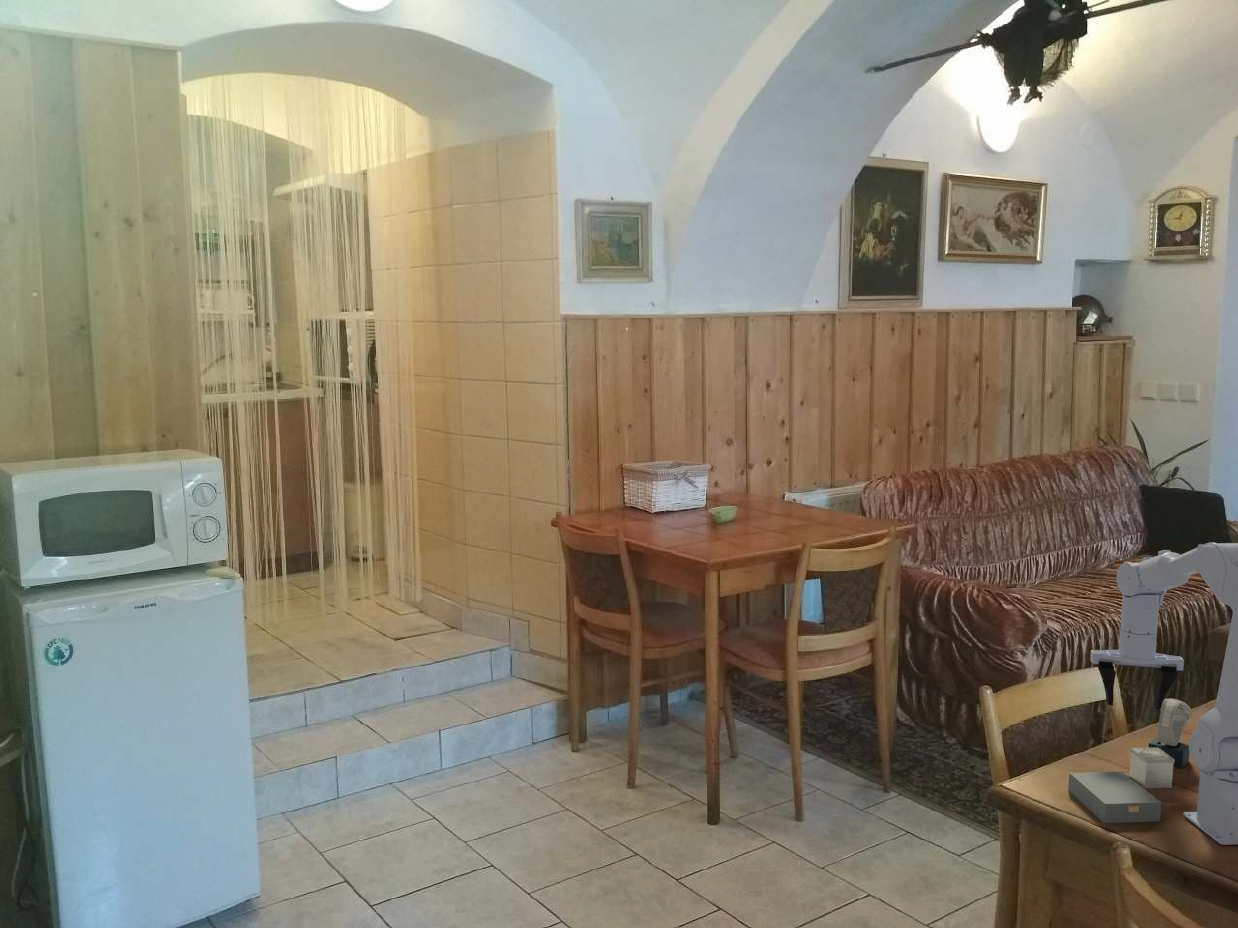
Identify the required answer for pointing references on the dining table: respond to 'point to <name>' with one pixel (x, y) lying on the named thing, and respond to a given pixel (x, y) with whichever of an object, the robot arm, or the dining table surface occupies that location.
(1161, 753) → the tea tin
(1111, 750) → the dining table surface
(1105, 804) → the watch box
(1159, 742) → the watch
